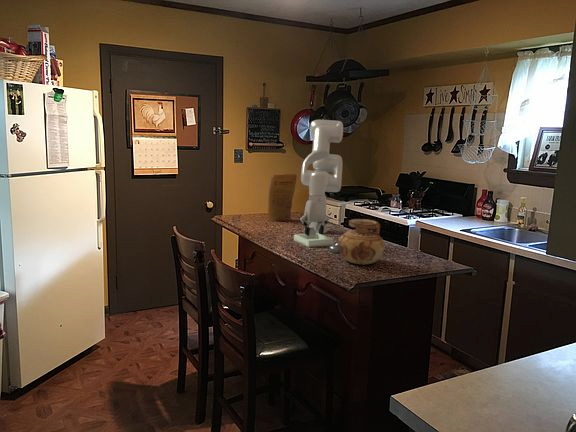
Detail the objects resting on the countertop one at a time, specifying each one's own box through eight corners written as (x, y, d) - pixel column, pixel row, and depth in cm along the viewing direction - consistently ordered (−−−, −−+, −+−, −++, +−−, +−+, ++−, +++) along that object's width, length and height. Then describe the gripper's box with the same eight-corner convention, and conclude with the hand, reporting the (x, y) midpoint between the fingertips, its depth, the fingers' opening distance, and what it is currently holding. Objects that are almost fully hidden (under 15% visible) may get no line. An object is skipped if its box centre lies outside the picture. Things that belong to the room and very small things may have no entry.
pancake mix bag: (296, 221, 290) (299, 174, 285) (268, 222, 281) (271, 174, 276) (291, 219, 296) (294, 173, 291) (263, 220, 286) (266, 173, 282)
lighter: (308, 238, 232) (309, 222, 231) (306, 237, 234) (307, 221, 232) (321, 238, 235) (322, 222, 234) (319, 237, 237) (320, 221, 235)
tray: (318, 238, 244) (318, 233, 244) (333, 245, 232) (333, 239, 232) (293, 240, 237) (294, 234, 237) (308, 247, 225) (308, 240, 225)
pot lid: (339, 248, 225) (340, 241, 225) (349, 253, 219) (350, 245, 218) (325, 249, 222) (326, 242, 221) (335, 254, 215) (335, 246, 214)
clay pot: (355, 263, 189) (349, 214, 193) (333, 269, 206) (327, 223, 209) (395, 260, 197) (388, 213, 200) (371, 266, 214) (364, 221, 217)
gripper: (327, 197, 238) (324, 232, 242) (296, 197, 230) (294, 233, 233) (336, 199, 232) (333, 235, 235) (304, 199, 224) (302, 237, 227)
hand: (314, 234), depth 234 cm, fingers closed on lighter, 7 cm apart
